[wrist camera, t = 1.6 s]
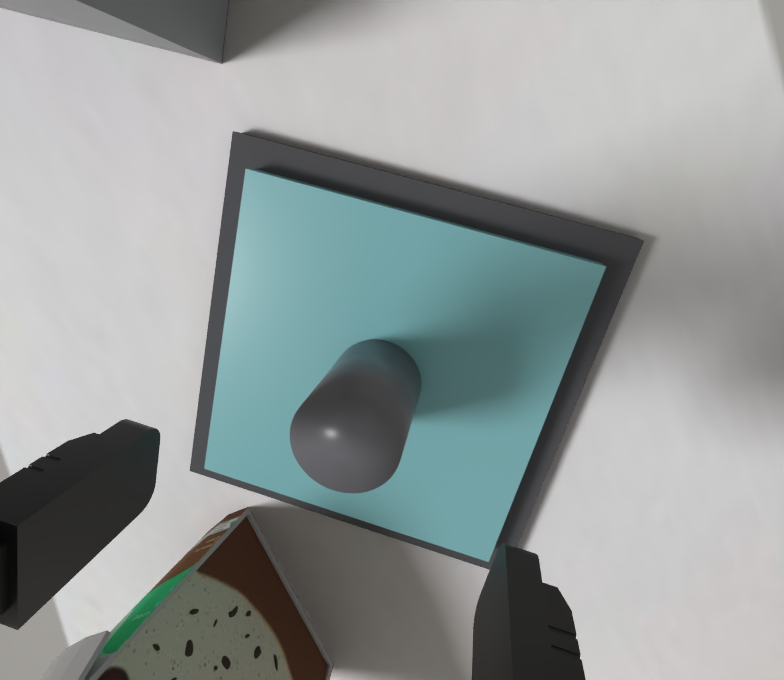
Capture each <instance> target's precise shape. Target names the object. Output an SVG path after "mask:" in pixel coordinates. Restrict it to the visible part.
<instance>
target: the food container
mask: <svg viewBox="0 0 784 680" xmlns="http://www.w3.org/2000/svg"><path fill="white" fill-rule="evenodd" d="M332 668H333V662H332V660H331V659H330V657H329V655H328V653H327V651H326V649H325V647H324V646H323V644H322V642H321V640H320V638H319V636H318V635H317V633H316V631H315V629H314V627H313V625H312V623H311V622H310V620H309V618H308V616H307V614H306V612H305V611H304V609H303V607H302V605H301V603H300V601H299V599H298V598H297V596H296V594H295V592H294V590H293V588H292V587H291V585H290V583H289V581H288V579H287V577H286V576H285V574H284V572H283V570H282V568H281V566H280V564H279V563H278V561H277V559H276V557H275V555H274V553H273V552H272V550H271V548H270V546H269V544H268V542H267V540H266V539H265V537H264V535H263V533H262V531H261V529H260V528H259V526H258V524H257V522H256V520H255V518H254V516H253V515H252V513H251V511H250V509H249V507H247V508H244V509H242V510H239V511H237V512H234V513H232V514H229V515H227V516H226V517H225V518H224V519H223V520H222V521H220V522H219V523H218V524H217V525H216V526H214V527H213V528H212V529H211V530H210V531H208V532H207V534H206V535H205V536H204V537H203V538H202V539H201V540H200V541H199V542H198V543H197V544H196V545H195V546H194V547H193V548H192V549H191V550H190V551H189V552H188V553H187V554H186V555H185V556H184V557H183V558H182V559H181V560H180V561H179V562H178V563H177V564H176V565H175V566H174V567H173V568H172V569H171V570H170V571H169V572H168V573H167V574H166V575H165V576H164V577H163V578H162V579H161V580H160V582H159V583H158V584H157V585H156V586H155V587H154V588H153V589H152V590H151V591H150V592H149V593H148V594H147V595H146V596H145V597H144V598H143V599H142V600H141V601H140V602H139V603H138V604H137V605H136V606H135V607H134V608H133V609H132V610H131V611H130V612H129V613H128V614H127V615H126V616H125V617H124V618H123V619H122V620H121V621H120V622H119V623H118V624H117V625H116V626H115V627H114V628H113V630H112V631H111V632H109V631H104V632H101V633H98V634H95V635H92V636H89V637H86V638H84V639H82V640H81V641H79V642H77V643H75V644H73V645H72V646H70V647H68V648H66V649H65V650H64V651H63V652H62V653H61V654H60V655H59V656H58V657H57V658H56V659H55V660H53V661H52V662H51V664H50V666H49V667H48V669H47V670H46V672H45V673H44V675H43V677H42V678H41V680H330V676H331V672H332Z"/></svg>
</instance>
